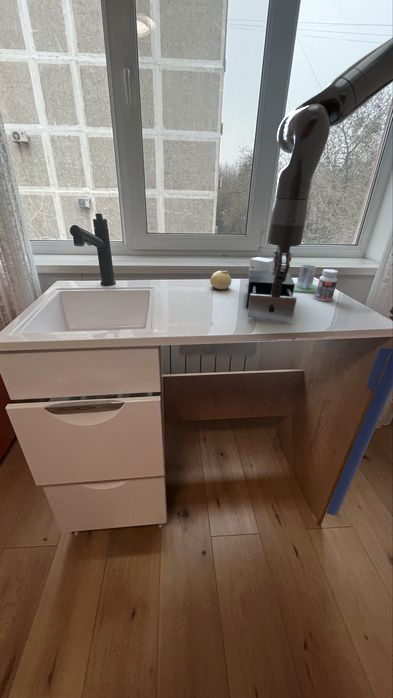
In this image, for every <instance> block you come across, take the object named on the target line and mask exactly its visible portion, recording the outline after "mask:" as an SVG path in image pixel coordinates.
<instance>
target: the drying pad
mask: <svg viewBox="0 0 393 698" xmlns="http://www.w3.org/2000/svg"><path fill="white" fill-rule="evenodd" d="M294 284H295V286H294V291H293V293H305V294H316V291H317V285H316V284H312V288H311V289H300V288H297V282H294Z"/></svg>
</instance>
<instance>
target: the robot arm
mask: <svg viewBox="0 0 393 698" xmlns="http://www.w3.org/2000/svg"><path fill="white" fill-rule="evenodd" d="M392 83H393V36H392V37H391V38H389V39H388V40H387V41H385V42H384V43H381V44H380V45H379V46H377V47H375V49H373V50H371V51H369V52H368V53H367V54H366V55H364V56H362V57H361V58H360V59H358V60H357V61H356V62H354V63H353V64H352V65H350V66H348V68H346V69H345V70H344V71H343V72H341V74H339V75H338V76H337V77H336V78H334V79H333V80H331V82H330V83H329V84H327V86H326V87H324V88H323V89H322V90H321V91H319V92H318V93H316V94H315V95H312V96H311V97H309V98H308V99H307V100H305V101H304V102H303V103H301V104H300V105H298V106H296V107H295V108H294V109H292V110H291V111H289V113H288V114H287V115H285V117H284V118H283V120H282V121H281V123H280V125H279V127H278V129H277V135H276V139H277V140H276V141H277V144H278V147H279V148H280V149H281V150H282V151H283V152H284V153H287V154H291V155H290V158H289V161H288V163H287V165H286V166H284V167H283V168H282V169H280V171H279V172H278V175H277V180H276V181H277V182H276V188H275V195H274V200H273V205H272V209H271V215H270V221H269V229H268V238H267V243H268V244H270V245H272V246H277V247H276V250H274V251H273V253H272V259H273V266H272V270H273V273H272V275H273V277H272V279H273V285H272V291H271V296H272V297H277V298H279V297H280V295H281V290H282V284H283V282H285V280H286V276H287V273H289V270H290V267H291V265H290V263H291V262H292V258H293V254H292V253H291V247H298V246H301V245H302V240H303V236H304V233H305V232H304V231H305V227H306V226H305V225H306V221H307V216H308V209H309V208H308V207H309V199H310V194H311V188H312V183H313V182H312V181H313V178H314V175H315V173H316V170H317V168H318V166H319V163H320V161H321V158H322V156H323V153H324V152H325V151H324V150H325V148H326V146H327V142H328V140H329V136H330V130H331V128H332V127H335V126H337V125H341V123H343V122H345V121H346V120H347V119H349V118H350V117H351V116H352V115H354V114H355V113H356V112H357V111H359V109H361V108H362V107H364V106H365V105H366V104H367V103H368V102H369V101H370V100H372V99H373V98H375V96H377V95H378V94H379V93H381V92H382V91H383V90H384V89H386V88H387V87H389V86H390V85H391V84H392ZM388 313H390V314H391V315H388V318H389V319H391V321H393V305H392V306H391V308H390V310H389V312H388Z"/></svg>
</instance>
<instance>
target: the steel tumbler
mask: <svg viewBox="0 0 393 698" xmlns="http://www.w3.org/2000/svg"><path fill="white" fill-rule="evenodd" d="M316 271H317V266H315V265H312V264H301V265H300V267H299V272H298V276H297V281H296V283H297V288H300V289H311V288H312V284H313V283H314V280H315V274H316ZM313 285H314V284H313Z"/></svg>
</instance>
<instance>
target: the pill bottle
mask: <svg viewBox="0 0 393 698" xmlns="http://www.w3.org/2000/svg"><path fill="white" fill-rule="evenodd" d="M338 274H339V270H336V269H331V268H326V269H325V268H324V269H323V270H322V275H321V276H319V279H318V283H317V285H316V287H317V291H316V293H315V295H314V298H315V299H316V300H318V301H322V302H330V301H332V300H333V298H334V294H335V290H336V287H337V283H338V278H337V276H338Z"/></svg>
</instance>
